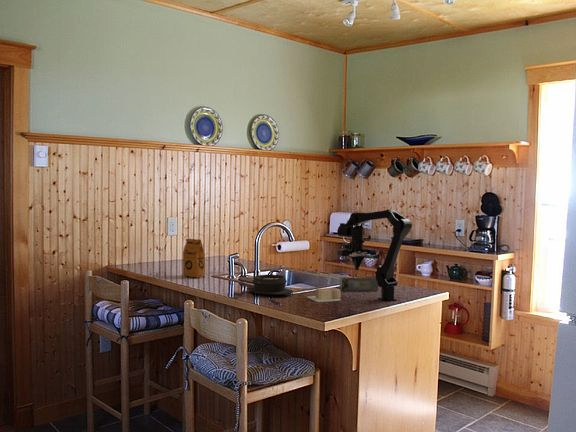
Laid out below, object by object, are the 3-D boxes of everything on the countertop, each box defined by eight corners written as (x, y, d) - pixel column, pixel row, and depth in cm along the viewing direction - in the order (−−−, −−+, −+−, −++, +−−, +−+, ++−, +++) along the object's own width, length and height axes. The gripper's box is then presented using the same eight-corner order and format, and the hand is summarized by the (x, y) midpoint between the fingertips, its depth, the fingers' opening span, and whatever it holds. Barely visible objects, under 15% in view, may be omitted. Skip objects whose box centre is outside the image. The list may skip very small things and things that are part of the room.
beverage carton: (339, 288, 289) (339, 275, 288) (375, 288, 289) (376, 276, 289) (341, 291, 281) (341, 278, 280) (378, 291, 281) (379, 278, 281)
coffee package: (195, 279, 310) (195, 240, 309) (180, 277, 317) (180, 238, 316) (208, 277, 318) (208, 238, 317) (193, 275, 325) (193, 237, 324)
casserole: (237, 293, 271) (237, 276, 270) (262, 288, 285) (262, 272, 285) (277, 300, 255) (277, 282, 255) (301, 294, 270) (301, 277, 270)
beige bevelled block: (340, 290, 258) (321, 291, 255) (340, 298, 258) (320, 299, 255) (335, 287, 264) (315, 288, 260) (334, 296, 264) (315, 297, 260)
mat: (341, 300, 255) (341, 299, 255) (317, 302, 251) (317, 301, 251) (330, 295, 266) (330, 295, 266) (307, 297, 262) (307, 296, 262)
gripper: (366, 236, 281) (365, 267, 282) (332, 237, 274) (332, 268, 275) (377, 238, 270) (376, 270, 271) (342, 239, 264) (342, 271, 265)
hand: (356, 269), depth 271 cm, fingers closed
